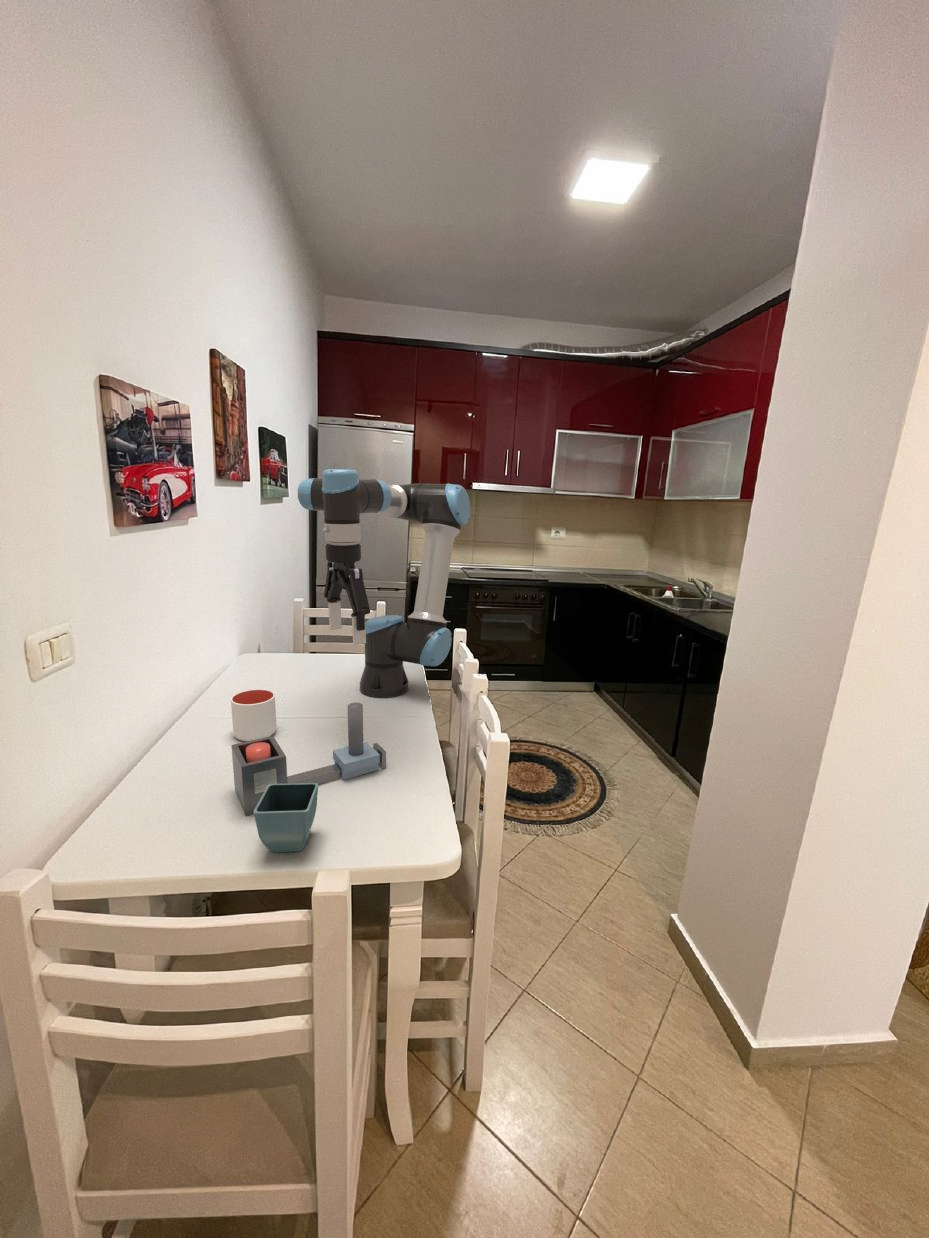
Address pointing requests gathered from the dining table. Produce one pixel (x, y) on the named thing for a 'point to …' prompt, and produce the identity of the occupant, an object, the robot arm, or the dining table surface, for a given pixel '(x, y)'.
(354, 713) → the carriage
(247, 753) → the button
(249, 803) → the open box
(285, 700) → the dining table surface
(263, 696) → the cup
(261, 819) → the flower pot
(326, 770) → the rail
